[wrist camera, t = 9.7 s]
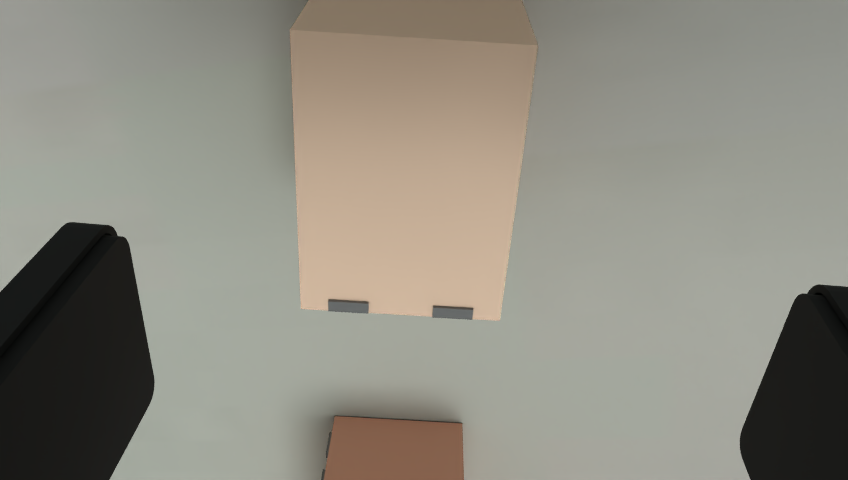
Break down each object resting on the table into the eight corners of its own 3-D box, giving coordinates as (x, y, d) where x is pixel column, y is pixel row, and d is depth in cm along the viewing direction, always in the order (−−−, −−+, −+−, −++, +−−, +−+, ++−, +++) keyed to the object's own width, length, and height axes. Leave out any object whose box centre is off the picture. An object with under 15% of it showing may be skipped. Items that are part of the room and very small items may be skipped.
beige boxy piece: (326, -33, 20) (284, 30, 15) (514, -22, 20) (538, 47, 15) (329, 195, 23) (296, 310, 18) (487, 205, 24) (499, 323, 18)
